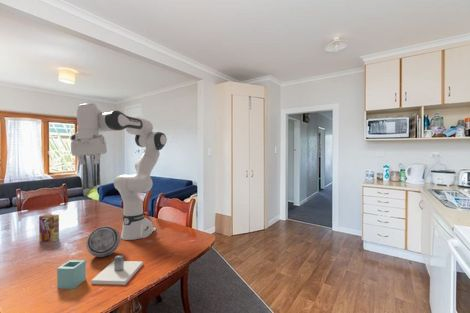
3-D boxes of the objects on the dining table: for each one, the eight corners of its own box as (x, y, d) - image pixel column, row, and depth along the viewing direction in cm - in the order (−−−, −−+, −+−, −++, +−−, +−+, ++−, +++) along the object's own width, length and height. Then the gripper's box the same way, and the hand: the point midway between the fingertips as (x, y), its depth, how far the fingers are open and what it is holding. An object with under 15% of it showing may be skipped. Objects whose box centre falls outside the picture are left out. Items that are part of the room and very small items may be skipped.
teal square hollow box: (70, 278, 94) (70, 260, 94) (85, 279, 94) (85, 260, 93) (57, 288, 87) (57, 268, 87) (73, 288, 87) (73, 268, 87)
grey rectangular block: (117, 268, 99) (116, 255, 99) (123, 268, 99) (123, 255, 99) (114, 271, 97) (114, 257, 97) (121, 271, 97) (121, 257, 97)
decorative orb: (83, 264, 106) (83, 233, 105) (89, 251, 119) (89, 224, 118) (119, 258, 111) (118, 229, 111) (121, 247, 125) (120, 220, 124)
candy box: (59, 239, 136) (59, 214, 135) (53, 242, 131) (53, 216, 131) (45, 239, 136) (44, 214, 135) (38, 241, 131) (38, 216, 131)
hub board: (113, 263, 106) (113, 260, 106) (142, 264, 106) (142, 261, 106) (91, 283, 90) (91, 280, 90) (125, 284, 90) (125, 281, 90)
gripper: (109, 134, 109) (110, 163, 109) (80, 138, 116) (81, 164, 116) (97, 133, 103) (98, 163, 103) (67, 137, 110) (68, 165, 110)
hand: (89, 164), depth 109 cm, fingers open, 8 cm apart
